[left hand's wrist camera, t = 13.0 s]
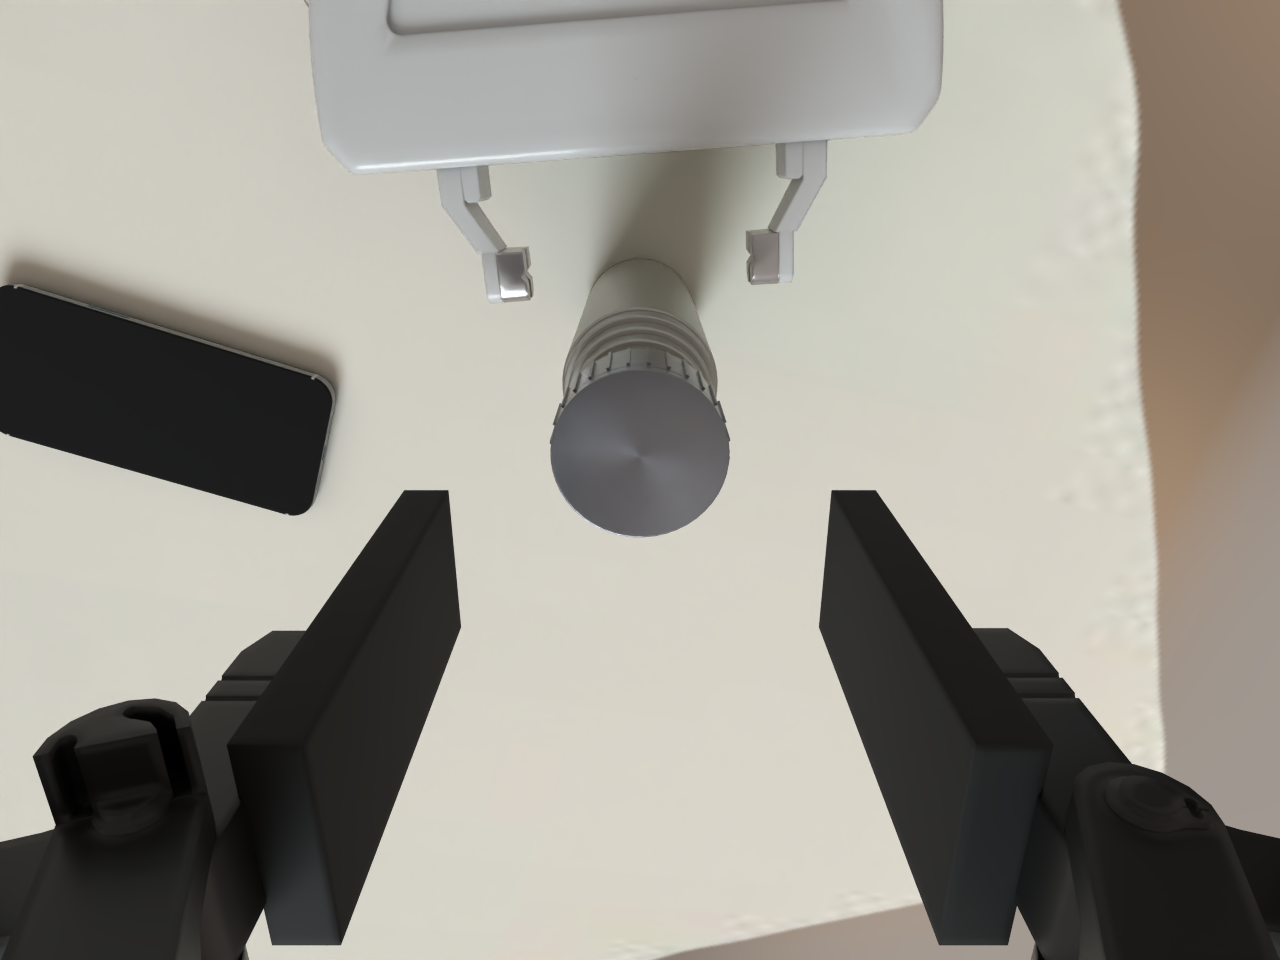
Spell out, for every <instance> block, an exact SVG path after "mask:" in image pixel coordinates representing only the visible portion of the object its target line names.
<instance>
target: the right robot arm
mask: <svg viewBox="0 0 1280 960" xmlns="http://www.w3.org/2000/svg"><path fill="white" fill-rule="evenodd" d="M304 2H305V3H306V4H307V6H308V7H309V29H310V47H311V62H312V73H313V82H314V91H315V100H316V107H317V114H318V121H319V127H320V132H321V137H322V140H323V143H324V145H325V147H326V149H327V150H328V151H329V152H330V153H331V154H332V156H333V157H334V158H335V159H336V160H337V161H338V162H339V163H340V164H341V165H342V166H343V167H344V168H345V169H346V170H348V171H349V172H350V173H352V174H354V175H372V174H385V173H399V172H412V171H426V170H437V177H438V183H439V190H440V196H441V203H442V206H443V208H444V209H445V210H446V212H447V213H448V214H449V216H450V217H451V219H452V220H453V221H454V223H455V224H456V225H457V227H458V228H459V229H460V231H461V232H462V233H463V235H464V236H465V237H466V239H467V240H468V242H469V243H470V244H471V246H472V247H473V248H474V250H475V251H476V252H477V254H481V255H482V262H483V270H484V277H485V284H486V291H487V297H488V300H489V303H503V302H516V301H527V300H530V299H531V297H533V290H534V289H533V278H532V276H531V275H530V273H529V272H528V269H529V267H530V265H531V261H530V253H529V247H510V248H506V247H507V246H506V244H505V243H504V241H503V240H502V238H501V237H500V236H499V234H498V233H497V231H496V230H495V228H494V227H493V225H492V224H491V222H490V221H489V219H488V218H487V216H486V215H485V214H484V212H483V211H482V209H481V208H480V206H479V205H478V203H477V202H480V201H484V200H488V199H489V198H490V197H491V196H492V195H491V187H490V178H489V170H488V165H498V164H512V163H525V162H538V161H552V160H565V159H578V158H592V157H605V156H618V155H632V154H645V153H658V152H672V151H685V150H698V149H712V148H725V147H738V146H751V145H765V144H776V175H777V176H778V177H779V178H785V179H792V180H791V182H790V184H789V186H788V188H787V190H786V192H785V194H784V196H783V198H782V200H781V202H780V204H779V206H778V208H777V210H776V212H775V214H774V216H773V218H772V220H771V222H770V224H769V226H768V228H769V229H761V230H750V231H746V250H747V251H748V252H749V254H750V257H749V258H748V260H747V262H746V264H747V278H748V281H749V282H750V284H751V285H755V284H774V283H788V282H792V279H793V231H797V230H798V228H799V227H800V225H801V223H802V221H803V219H804V217H805V216H806V214H807V212H808V210H809V208H810V207H811V205H812V203H813V201H814V199H815V197H816V196H817V194H818V192H819V190H820V188H821V187H822V185H823V183H824V181H825V179H826V175H827V140H839V139H852V138H865V137H879V136H892V135H902V134H909V133H912V132H914V131H915V130H916V129H917V128H918V127H919V126H920V125H921V124H922V122H923V121H924V120H925V118H926V117H927V116H928V114H929V113H930V111H931V110H932V109H933V107H934V106H935V104H936V103H937V100H938V98H939V95H940V90H941V82H942V70H943V29H944V27H943V0H304Z"/></svg>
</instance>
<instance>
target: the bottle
mask: <svg viewBox="0 0 1280 960" xmlns="http://www.w3.org/2000/svg"><path fill="white" fill-rule="evenodd" d="M647 347H650V350H657V351H661V352H666V351H668V352H669V354H670V355H673V356H675V357H678V358H679V359H681V360H683V359H685V360H686V361H687V363H688V364H689V365H690V366H692V367H693V368H694V369H695V370H697V371H698V370H700V371H701V374H702V377H703V378H704V379H705V380H706V382H707V383H708V384H709V385H710V384H711V385H712V386H713V390H714V393H715V396H716V395H717V381H718V380H717V370H716V366H715V361H714V358H713V356H712V353H711V350H710V347H709V345H708V342H707V339H706V336H705V333H704V331H703V328H702V325H701V322H700V319H699V317H698V314H697V311H696V308H695V305H694V303H693V300H692V297H691V294H690V292H689V290H688V288H687V286H686V284H685V283H684V281H683V280H682V278H681V277H680V276H679V275H678V274H677V273H676V272H675V271H673V270H672V269H671V268H669V267H668V266H666V265H664V264H662V263H660V262H657V261H653V260H648V259H631V260H627V261H623V262H621V263H618V264H616V265H614V266H612V267H611V268H609V269H608V270H607V271H605V272H604V273H603V274H602V275H601V276H600V277H599V278H598V280H597V281H596V282H595V284H594V286H593V288H592V289H591V292H590V294H589V297H588V300H587V303H586V305H585V308H584V311H583V314H582V317H581V319H580V322H579V325H578V328H577V330H576V333H575V336H574V339H573V342H572V344H571V347H570V350H569V353H568V356H567V358H566V362H565V366H564V371H563V396H564V394H565V391H566V388H567V387H569V388H570V386H571V384H572V383H573V382H574V380H575V379H576V376H577V374H578V372H580V373H582V372H583V371H584V370H585V369H586V368H587V367H588V366H590V365H591V362H592V361H593V360H594V361H597V360H599V359H601V358H603V357H605V356H607V355H608V353H609V352H612V353H615V352H619V351H623V350H627V348H631V349H647Z"/></svg>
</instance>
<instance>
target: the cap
mask: <svg viewBox="0 0 1280 960" xmlns="http://www.w3.org/2000/svg"><path fill="white" fill-rule="evenodd" d="M725 423H726V419H725V416H724V413H723V410H722V407H721V404H720V401H717V399H716V396H715V393H714V390H713V386H712V385H711V384H710V385H709V384H708V383H707V382H706V380H705V379H704V378H703V377H702V374H701V371H700V370H698V371H697V370H695V369H694V368H693V367H692V366H690V365H689V364H688V363H687V361H686V360H685V359H683V360H681V359H679V358H678V357H675V356H673V355H670V354H669V352H668V351H666V352H661V351H657V350H650V347H647V349H631V348H627V350H623V351H619V352H615V353H612V352H609V353H608V355H607V356H605V357H603V358H601V359H599V360H597V361H594V360H593V361H592V362H591V365H590V366H588V367H587V368H586V369H585V370H584V371H583V372H582V373H580V372H578V374H577V376H576V379H575V380H574V382H573V383H572V384H571V386H570V388H569V387H567V388H566V391H565V394H564V397H563V400H562V404H561V403H560V404H559V407H558V410H557V413H556V416H555V419H554V423H553V425H554V430H553V433H552V436H551V439H550V444H551V465H552V470H553V474H554V477H555V481H556V483H557V485H558V487H559V490H560V492H561V493H562V495H563V496H564V498H565V499H566V501H567V502H568V503H569V505H570V506H571V507H572V508H573V509H574V510H575V511H576V512H577V513H578V514H579V515H580V516H581V517H582V518H584V519H585V520H587V521H588V522H590V523H591V524H593V525H595V526H597V527H599V528H600V529H603V530H605V531H608V532H610V533H614V534H618V535H622V536H629V537H651V536H658V535H662V534H667V533H669V532H672V531H675V530H678V529H679V528H681V527H683V526H685V525H687V524H689V523H690V522H692V521H693V520H695V519H696V518H698V517H699V516H700V515H701V514H702V513H703V512H704V511H705V510H706V509H707V508H708V507H709V506H710V505H711V504H712V502H713V501H714V499H715V498H716V497H717V495H718V494H719V492H720V490H721V488H722V486H723V483H724V480H725V478H726V475H727V470H728V465H729V459H730V457H729V453H730V451H729V441H730V437H729V434H728V431H727V428H726V424H725Z"/></svg>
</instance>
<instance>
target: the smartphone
mask: <svg viewBox="0 0 1280 960" xmlns="http://www.w3.org/2000/svg"><path fill="white" fill-rule="evenodd" d="M335 402H336V397H335V392H334V389H333V387H332V386H331V384H330V383H329V382H328V381H327V380H326V379H325V378H323V377H322V376H320V375H317V374H314V373H311V372H308V371H304V370H301V369H298V368H295V367H291V366H288V365H285V364H282V363H278V362H275V361H272V360H269V359H265V358H262V357H259V356H256V355H252V354H249V353H246V352H243V351H239V350H236V349H233V348H230V347H226V346H223V345H220V344H217V343H213V342H210V341H207V340H203V339H200V338H197V337H194V336H190V335H187V334H184V333H181V332H177V331H174V330H171V329H168V328H164V327H161V326H158V325H155V324H151V323H148V322H145V321H142V320H138V319H135V318H132V317H129V316H125V315H122V314H119V313H115V312H112V311H109V310H106V309H102V308H99V307H96V306H93V305H89V304H86V303H83V302H80V301H76V300H73V299H70V298H67V297H63V296H60V295H57V294H54V293H50V292H47V291H44V290H41V289H37V288H34V287H31V286H27V285H24V284H10V285H5V286H2V287H0V432H2V433H4V434H6V435H9V436H12V437H16V438H19V439H23V440H26V441H30V442H33V443H37V444H40V445H44V446H47V447H51V448H54V449H58V450H61V451H65V452H68V453H72V454H75V455H79V456H82V457H86V458H89V459H93V460H96V461H100V462H103V463H107V464H110V465H114V466H117V467H121V468H124V469H128V470H131V471H135V472H138V473H142V474H145V475H149V476H152V477H156V478H159V479H163V480H166V481H170V482H173V483H177V484H181V485H184V486H188V487H191V488H195V489H198V490H202V491H205V492H209V493H212V494H216V495H219V496H223V497H226V498H230V499H233V500H237V501H240V502H244V503H247V504H251V505H254V506H258V507H261V508H265V509H268V510H272V511H275V512H279V513H282V514H286V515H292V516H293V515H300V514H303V513H305V512H306V511H307V510H308V509H309V508H310V507H311V506H312V505H313V504H314V502H315V500H316V496H317V491H318V486H319V481H320V476H321V471H322V467H323V462H324V457H325V452H326V447H327V442H328V437H329V432H330V427H331V422H332V417H333V412H334V407H335Z"/></svg>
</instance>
